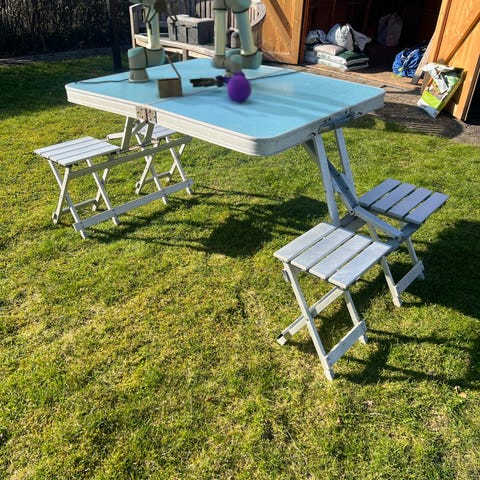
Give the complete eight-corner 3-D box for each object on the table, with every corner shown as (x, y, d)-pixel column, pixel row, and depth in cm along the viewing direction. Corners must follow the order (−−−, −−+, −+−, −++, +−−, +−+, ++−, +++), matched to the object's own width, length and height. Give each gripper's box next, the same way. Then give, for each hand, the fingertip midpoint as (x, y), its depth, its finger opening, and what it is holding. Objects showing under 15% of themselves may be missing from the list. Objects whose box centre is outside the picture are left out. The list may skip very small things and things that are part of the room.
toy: (237, 93, 295) (251, 108, 274) (212, 89, 288) (224, 103, 267) (243, 69, 287) (258, 82, 266) (217, 64, 279) (231, 76, 259)
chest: (159, 97, 290) (158, 81, 285) (158, 94, 298) (156, 79, 293) (182, 96, 294) (181, 80, 289) (180, 93, 301) (179, 77, 296)
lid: (166, 57, 280) (178, 49, 279) (165, 55, 287) (175, 48, 287) (180, 79, 288) (191, 72, 288) (178, 77, 296) (188, 70, 296)
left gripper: (179, -6, 272) (181, 33, 283) (137, -4, 267) (141, 35, 277) (180, -5, 266) (183, 34, 277) (138, -4, 260) (142, 36, 271)
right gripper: (226, 90, 292) (194, 93, 287) (219, 83, 313) (188, 85, 308) (226, 78, 288) (193, 80, 284) (218, 71, 309) (188, 73, 305)
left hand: (162, 34), depth 277 cm, fingers open, 13 cm apart
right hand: (191, 83), depth 296 cm, fingers open, 13 cm apart
